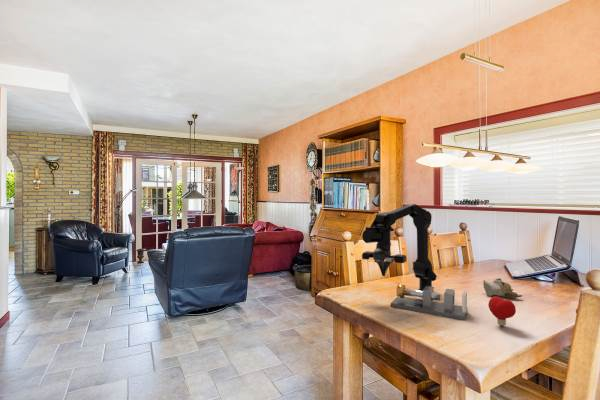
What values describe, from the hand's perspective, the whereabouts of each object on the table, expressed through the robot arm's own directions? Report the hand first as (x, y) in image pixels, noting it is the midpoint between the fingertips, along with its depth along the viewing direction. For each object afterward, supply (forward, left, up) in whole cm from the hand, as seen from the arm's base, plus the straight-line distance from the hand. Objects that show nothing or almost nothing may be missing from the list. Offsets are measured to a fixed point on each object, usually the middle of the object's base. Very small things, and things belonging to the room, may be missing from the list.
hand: (383, 276), depth 146 cm
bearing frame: (0, +19, -11) cm, 22 cm away
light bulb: (+5, +45, -11) cm, 47 cm away
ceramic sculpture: (-36, +44, -11) cm, 58 cm away
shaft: (0, +15, -8) cm, 17 cm away
